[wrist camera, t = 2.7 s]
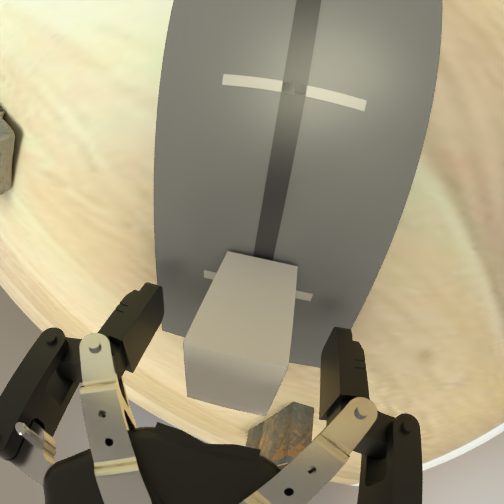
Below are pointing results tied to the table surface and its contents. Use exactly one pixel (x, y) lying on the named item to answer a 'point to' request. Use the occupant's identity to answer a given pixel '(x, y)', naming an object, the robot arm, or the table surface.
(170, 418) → the table surface
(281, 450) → the rusty notched block
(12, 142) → the incense holder
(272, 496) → the robot arm
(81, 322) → the table surface
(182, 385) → the table surface
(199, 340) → the fader knob
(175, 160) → the fader console
